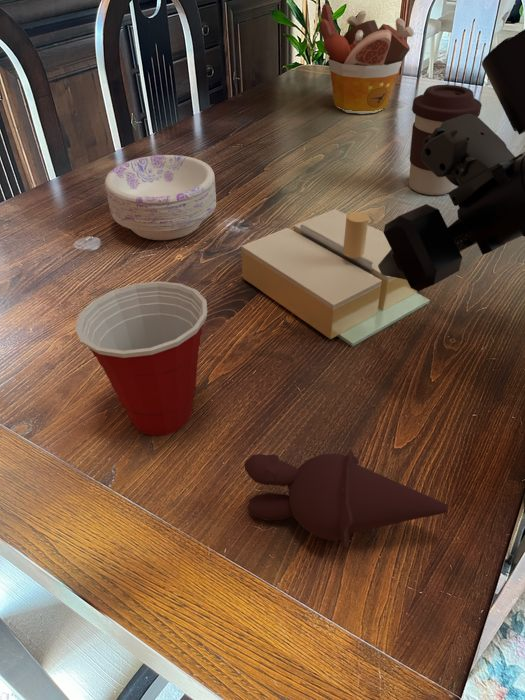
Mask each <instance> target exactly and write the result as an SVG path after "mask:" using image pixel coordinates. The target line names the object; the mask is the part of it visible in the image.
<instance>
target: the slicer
mask: <svg viewBox="0 0 525 700" xmlns="http://www.w3.org/2000/svg"><path fill="white" fill-rule="evenodd" d="M346 214H347V216H346V225H345V236H344V247H343V246H341V245H339V244H337V243H336V242H334V241H332V240H330V239H328V238H326V237H325V236H323V235H321V234H319V233H317V232H315V231H313V230H312V229H310V228H308V227H306V226H304V225H300V235H302V236H304V237H305V238H307V239H309V240H311V241H312V242H314V243H316V244H318V245H320V246H321V247H323V248H325V249H327V250H329V251H330V252H332V253H334V254H336V255H337V256H339V257H341V258H343V259H345V260H346V261H348V262H350V263H352V264H354V265H355V266H357V267H359V268H361V269H362V270H364V271H366V272H368V273H370V274H371V275H372V272H373V265H374V263H373V262H371V261H369V260H367V259H365V258H363V257H362V256H363V255H364V250H365V242H366V234H367V226H368V225H369V215H368V214H366V213H364V212H360V211H353V212H352V211H351V212H349V213H346Z"/></svg>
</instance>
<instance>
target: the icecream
mask: <svg viewBox="0 0 525 700" xmlns="http://www.w3.org/2000/svg"><path fill="white" fill-rule="evenodd" d="M359 464H360V461H359V459H358V458H357V457H356V456H355V453H354V451H353V450H352V449H350V450H349V451H348V452H347V454H346V455H343V454H340V453H321V454H319V455H316V456H313V457H311V458H308V459H307V460H306V461H304V462H303V463H302V464H300V465H299V466H298V467H295V466H294V465H292V464H290V463H289V462H286V461H283V460H280V457H279V456H278V455H277V454H274V453H273V454H263V453H257V454H252V455H251V456H249V457H248V458H247V459H246V460H245V461H244V470H245V471H246V473H247V475H248V477H249V478H250V479H251V480H252V481H253V482H254V483H256V484H260V485H264V486H269V485H271V486H278V487H287V489H288V494H285V493H273V492H266V493H262V494H256V495H254V496H253V497H251V498H250V499H249V501H248V503H247V511H248V513H249V514H250V515H251V516H253V517H254V518H255V519H260V520H263V521H276V520H283V519H287V518H290V517H292V516H293V518H294V519H295V520H296V521H297V523H298V524H299V525H300V526H301V527H302V528H303V529H304V530H305V531H307V532H308V533H310V534H312V535H313V536H315V537H316V538H320V539H325V540H327V541H331V542H335V541H340V542H341V543H342V544H343V546H344V548H345V549H346V548H347V547H348V546H350V541H349V540H350V539H349V536H351V534H354V533H355V534H356V533H359V532H364V531H369V530H372V529H378V528H383V527H387V526H390V525H395V524H400V523H404V522H409V521H413V520H417V519H422V518H427V517H432V516H437V515H441V514H446V513H448V509H449V507H448V504H447V503H445V502H442V501H441V500H439V499H436V498H434V497H432V496H430V495H427V494H425V493H423V492H420V491H418V490H416V489H415V488H411V487H410V486H407V485H404V484H403V483H400V482H399V481H396V480H394V479H392V478H389V477H386V476H384V475H382V474H380V473H377V472H375V471H373V470H371V469H369V468H367V467H364V466H361V465H359Z"/></svg>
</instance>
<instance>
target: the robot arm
mask: <svg viewBox="0 0 525 700" xmlns="http://www.w3.org/2000/svg"><path fill="white" fill-rule="evenodd" d="M481 66H482V68H483V71H484V73H485V74H486V76H487V78H488V81H489V82H490V85H491V87H492V89H493V91H494V93H495V95H496V98H497V99H498V101H499V104H500V105H501V108H502V109H503V111H504V113H505V115H506V117H507V120H508V121H509V124H510V125H511V128H512V130H513V131H514V132H517V134H518V135H522V134H523V133H525V28H524V29H523V30H521V31H520V32H518V33H516V34H515V35H513V36H509V37H507V38H505V39H503V40H502V41H501V42H499V43H498V44H497V45H496V46H495V47H494V48H493V49H491V51H490V52H488V54H486V56H484V58H483V60H482V62H481ZM423 146H424V148H423V150H422V152H421V159H422V161H423V163H424V164H425V165H426V166H427V167H428V168H429V169H430V170H431V171H432V172H433V173H434V174H435V175H436V176H437V177H444V176H445V177H446V178H447V179H448V180H449V181H450V182H451V183H452V184H454V186H456V188H453V190H452V191H451V192H449V193H447V194H448V197H449V198H450V200H451V202H452V204H453V206H454V207H458V209H457V211H456V212H457V219H456V220H455V221H454V222H452V223H451V224H450V225H449V226H448V225H447V223H446V221H445V219H444V217H443V215H442V213H441V211H440V209H439V208H437V207H434V206H432V205H430V204H427V203H425V204H423V205H421V206H418V207H416V208H414V209H411V210H409V211H406V212H405V213H402V214H400V215H398V216H397V217H395V218H394V219H392V220H390V221H389V222H387V223H386V224H384V227H383V231H382V232H383V233H384V235H385V237H386V239H387V241H388V243H389V245H390V247H391V250H390V251H389V252H388V254H387V255H386V256H385V257H384V259H383V260H382V261H381V262H380V263H379V265H378V268H379V270H380V272H381V274H382V275H384V276H389V277H395V278H400V279H405V280H407V281H408V283H409V285H410V287H411V288H412V289H414V290H416V291H418V292H420V291H422V290H425V289H427V288H430V287H432V286H434V285H436V284H438V283H440V282H441V281H443V280H445V279H447V278H448V277H451V276H452V275H455V274H456V273H458V272H459V271H460V268H461V264H462V260H463V256H462V253H461V252H463V251H465V250H467V249H469V248H471V247H473V246H475V245H477V247H478V248H479V251H480V252H481V255H482V256H484V255H486V254H489V253H490V252H493V251H495V250H497V249H498V248H500V247H502V246H504V245H506V244H507V243H510V242H512V241H514V240H516V239H519V238H521V237H523V238H525V151H524V152H522V153H520V154H518V155H516V156H515V155H514V153H513V152H512V151H510V149H509V148H508V146H507V144H506V143H505V141H504V140H503V139H502V138H501V137H500V136H499V135H498V134H496V133H495V132H494V131H493V130H492V128H491V127H490V126H488V125H487V124H486V123H485V122H484V121H483V120H482V119H481V118H480V117H479V116H478V117H477V116H475V115H472V114H465V115H462V116H459V117H456V118H453V119H450V120H447V121H444V122H443V123H442V124H441V126H440V127H439V128H436V129H435V130H434V132H433V133H432V134H431V135H429V136H427V137H425V138H424V139H423Z"/></svg>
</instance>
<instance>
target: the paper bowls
mask: <svg viewBox="0 0 525 700" xmlns="http://www.w3.org/2000/svg"><path fill="white" fill-rule="evenodd" d="M104 188H105V191H106V197H107V203H108V206H109V210H110V215H111V217H112V219H113V220H114V221H115V222H116V223H117V224H118V225H120V226H122V227H123V228H127V229H129V230H131V232H133V233H134V234H136V235H137V236H139V237H141V238H144V239H147V240H153V241H171V240H175V239H180V238H183V237H186V236H188V235H190V234H192V233H193V232H194V231H196V230H197V229H198V228H199V227H200V225H201V224H202V222H203V221H204V220H206V219H207V218H208V217H210V216H211V215H212V214H213V213H214V212H215V210H216V207H217V191H216V178H215V172H214V170H213V168H212V166H210V165H209V164H208V163H207V162H204V161H203V160H200V159H198V158H195V157H191V156H187V155H180V154H179V155H178V154H157V155H148V156H143V157H138V158H134V159H131V160H128V161H125V162H123V163H121V164H118V165H117V166H115V167H113V168H112V169H111V170H110V171H109V172H108V173H107V175H106V176H105V179H104Z"/></svg>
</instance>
